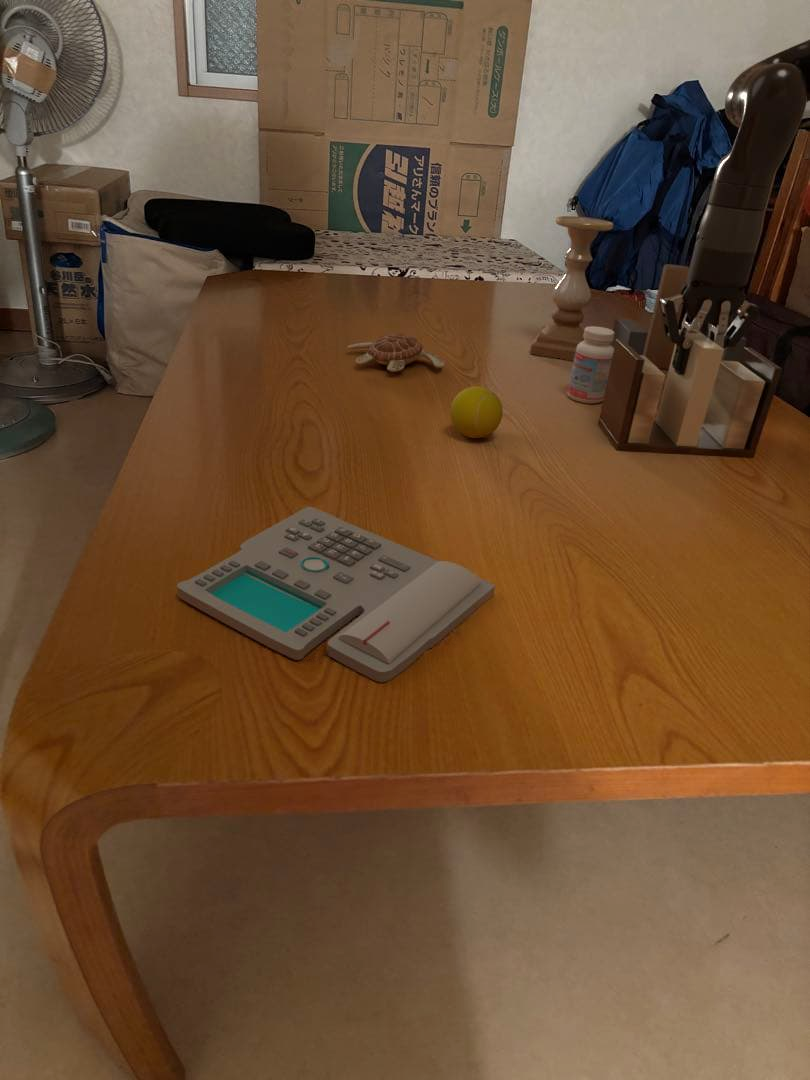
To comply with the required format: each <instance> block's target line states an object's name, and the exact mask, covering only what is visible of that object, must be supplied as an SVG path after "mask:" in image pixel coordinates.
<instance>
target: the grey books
mask: <svg viewBox="0 0 810 1080" xmlns="http://www.w3.org/2000/svg"><path fill="white" fill-rule="evenodd" d="M728 328H729V326H727V329H728ZM612 331H614V337H613V341H612V342H611V343H610V345H611V346H612V347H613V348H615V343H616V339H623V340H624V341H625V342H626V343H627V344H628V345H629V346H630V347H631V348H632V349H633V350H634V351H636V352H637V353H638V354H639V355H643V354H644V349H645V345H646V341H647V337H648V332H649V331H647V330H646V329H644V327H642V326H641V325H640V324H638V323H637V322H636V321H635V320H634V319H633V318H625V317H624V318H623V317H615V319H614V322H613V328H612ZM705 336H706V337H709V329H708V328H707V331H706V335H705ZM747 341H748V339H747V338H746V337H745V336H743V337H742V338H741V339H740V341H739V342H738V343H737V345H736V346H735V347H730V346H729V347H726V348H723V349H724V352H723V355H722V359H721V361H737V362H739V363H740V360H741V356H742V353H743V350H744V347H746V344H747Z"/></svg>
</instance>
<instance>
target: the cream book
mask: <svg viewBox="0 0 810 1080" xmlns="http://www.w3.org/2000/svg"><path fill="white" fill-rule="evenodd" d="M680 330H681V329H679V333H680ZM689 349H691V351H690V354H689V358H688V362H687V366H686V370H685V373H684V375H678V374H677V373H676V372H675V369H674V368H673V367H672V362H673V358H674V354H675V350H676V344H675V347H674V351H673V355H672V359H671V363H670V367H669V370H667V375H666V377H665V381H664V385H663V389H662V393H661V397H660V398H661V399H660V401H659V405H658V406H659V407H658V409H657V410H658V411H657V413H656V414H657V415H656V417H655V421H656V423H657V424H658V426H659V427H660V428H661V429H662V430H663V431H664V432H665V433H666V435H667V436H668V437H669V438H670V439H671V440H672V441H673V442H674V444H675V445H676V446H692V447H696V446H697V443H698V440H699V436H700V433H701V429H702V426H703V422H704V419H705V415H706V412H707V408H708V405H709V401H710V398H711V394H712V391H713V387H714V383H715V380H716V376H717V373H718V369H719V366H720V362H721V359H722V355H723V352H724V349H723V348H722V347H720V346H719V345H718V344H716V343H715V342H713V341H712V340H711V339H709V338H708V337H706V335H705V334H703V333H702V332H701V331H699V332H698V333H697V334H696V336H695V338H694V340H693V343H692V345H691V347H690V348H689Z"/></svg>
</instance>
